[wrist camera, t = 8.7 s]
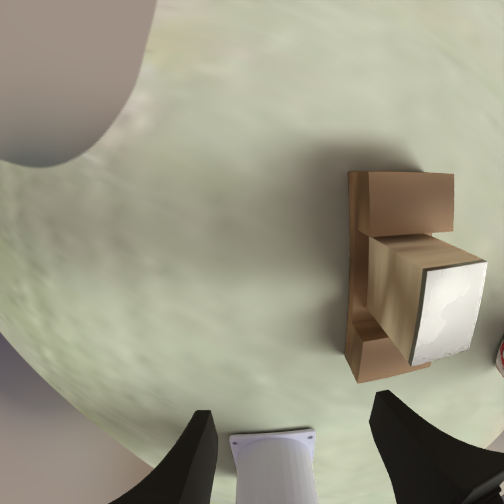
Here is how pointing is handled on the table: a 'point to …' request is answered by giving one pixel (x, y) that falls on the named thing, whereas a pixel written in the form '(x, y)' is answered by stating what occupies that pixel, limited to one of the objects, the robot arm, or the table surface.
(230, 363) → the table surface
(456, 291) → the tan wooden block
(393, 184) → the brown u-shaped block
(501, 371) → the soda can
